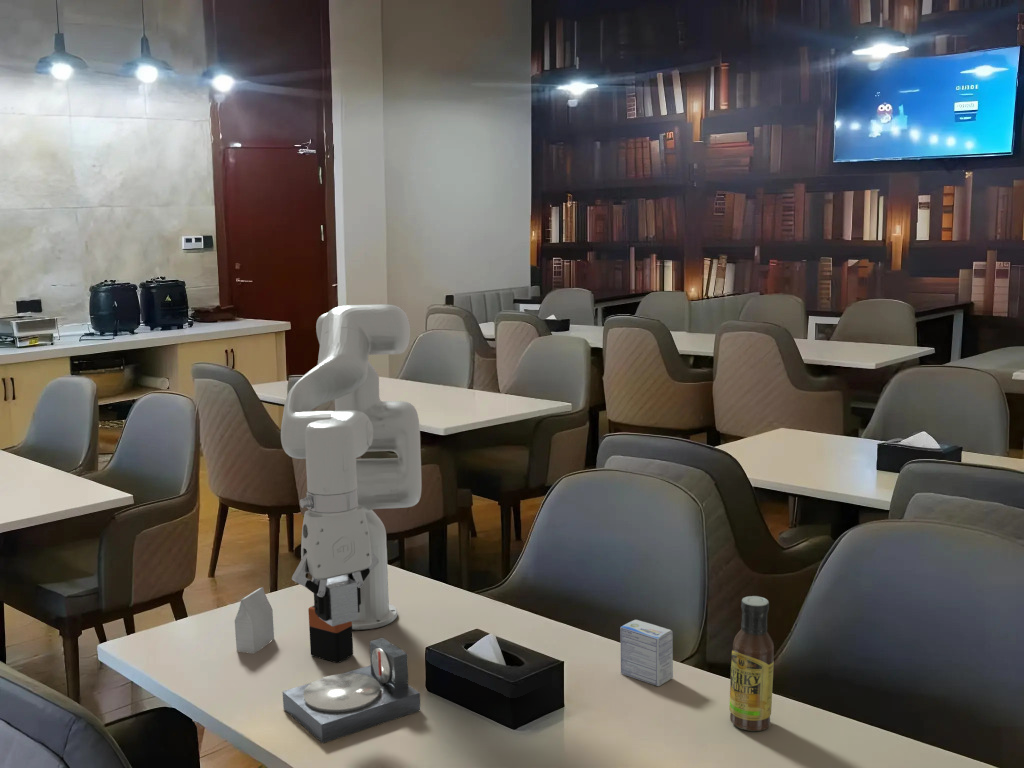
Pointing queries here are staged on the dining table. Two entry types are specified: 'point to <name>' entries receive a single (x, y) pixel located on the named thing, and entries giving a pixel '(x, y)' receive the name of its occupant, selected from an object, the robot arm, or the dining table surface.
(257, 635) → the grey house-shaped block
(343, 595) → the light grey rectangular block
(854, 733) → the dining table surface
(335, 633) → the battery
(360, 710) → the dial scale
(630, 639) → the medicine box
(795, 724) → the dining table surface
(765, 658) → the sauce bottle
